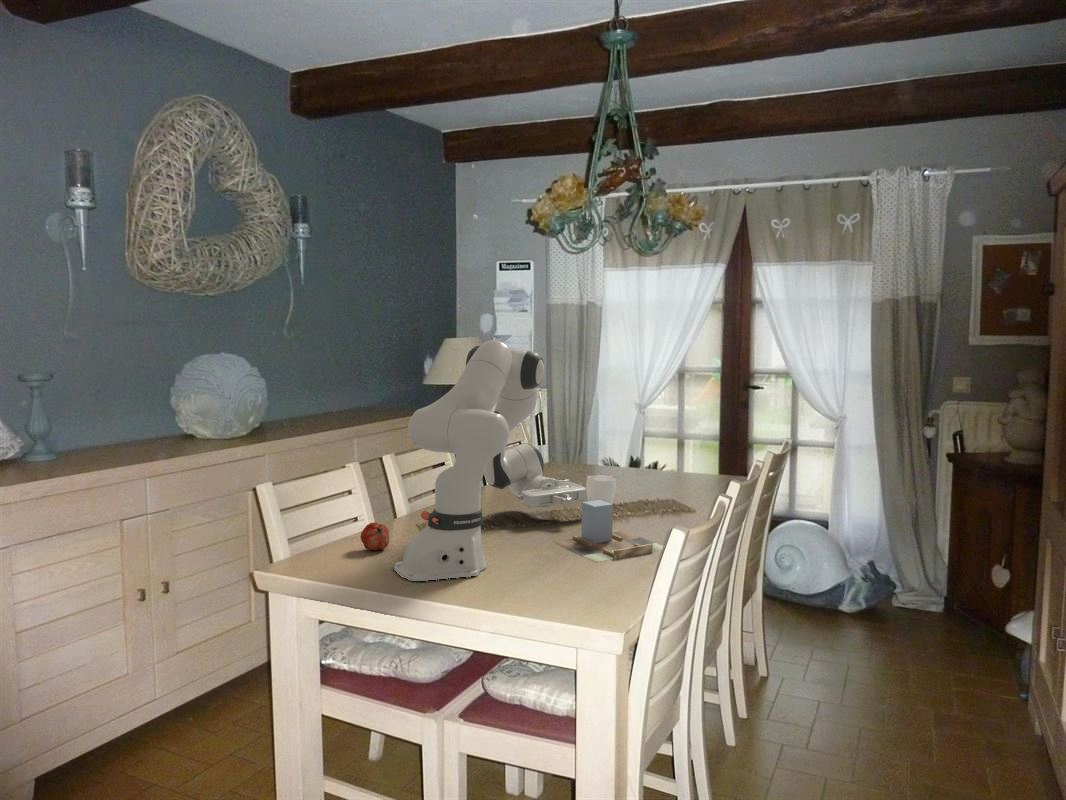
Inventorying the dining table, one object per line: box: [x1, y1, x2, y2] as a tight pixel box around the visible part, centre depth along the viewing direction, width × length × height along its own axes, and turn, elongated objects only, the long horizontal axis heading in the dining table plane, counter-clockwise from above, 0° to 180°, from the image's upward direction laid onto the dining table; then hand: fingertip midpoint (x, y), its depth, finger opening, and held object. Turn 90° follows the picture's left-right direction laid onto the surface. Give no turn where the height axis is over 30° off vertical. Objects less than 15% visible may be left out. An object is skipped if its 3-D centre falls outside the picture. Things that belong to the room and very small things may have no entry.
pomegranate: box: [360, 522, 390, 551], centre depth 205 cm, size 7×7×10 cm
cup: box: [585, 474, 616, 505], centre depth 243 cm, size 9×9×12 cm
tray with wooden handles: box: [553, 530, 664, 563], centre depth 209 cm, size 24×20×3 cm
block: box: [580, 500, 614, 543], centre depth 214 cm, size 6×6×10 cm
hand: (568, 501), depth 226 cm, fingers closed
